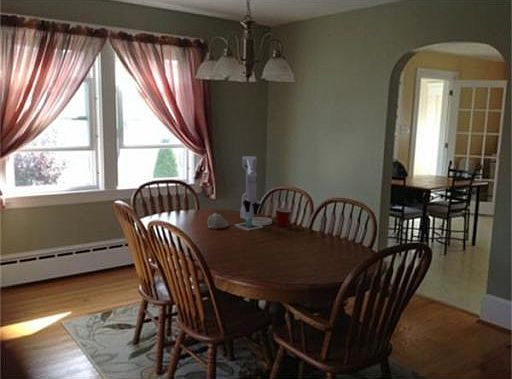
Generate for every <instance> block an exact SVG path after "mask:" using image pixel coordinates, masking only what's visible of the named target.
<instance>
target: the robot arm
mask: <svg viewBox="0 0 512 379" xmlns="http://www.w3.org/2000/svg"><path fill="white" fill-rule="evenodd" d="M241 160H242V162H241V163H242V164H241V166H242V169H244V170H245V193H244V194H242V195H241V207H240V214H239V215H240V219H243V220H246V218H247V217H251V218H254V217H255V215H257V214H258V212H259V208H260V206H261V205H262V204H261V200H259V199H257V186H258V184H257V183H258V173H257V171H256V167H257V164H258V158H257V156H246V155H245V156H242V158H241Z"/></svg>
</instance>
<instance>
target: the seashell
mask: <svg viewBox="0 0 512 379" xmlns="http://www.w3.org/2000/svg"><path fill="white" fill-rule="evenodd" d="M206 224H207V227H208V228H209V229H210V228H211V229H210V230H212V229H214V230H216V229H218V230H219V229H223V228H228V227H229V226H230V224H229V221H228V220H227V219H224V218H223V216H222V215H221V214H218V212H214V213H212V214H211V215H209V216H208V217H207V222H206Z"/></svg>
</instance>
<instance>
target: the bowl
mask: <svg viewBox="0 0 512 379" xmlns="http://www.w3.org/2000/svg"><path fill="white" fill-rule="evenodd" d="M252 223H254V224H258V225H261V226H268V225H271V224H273V219H272V218H269V217H264V216H256V217H255V216H254V218H252Z"/></svg>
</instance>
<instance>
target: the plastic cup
mask: <svg viewBox="0 0 512 379" xmlns="http://www.w3.org/2000/svg"><path fill="white" fill-rule="evenodd" d="M274 210H275V214H276V215H275V216H276V221H277V222H276V223H277V227H281V228H285V227H287V226H288V224H289V218H290V215H291V212H292V209H289V208H285V207H275V208H274Z"/></svg>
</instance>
